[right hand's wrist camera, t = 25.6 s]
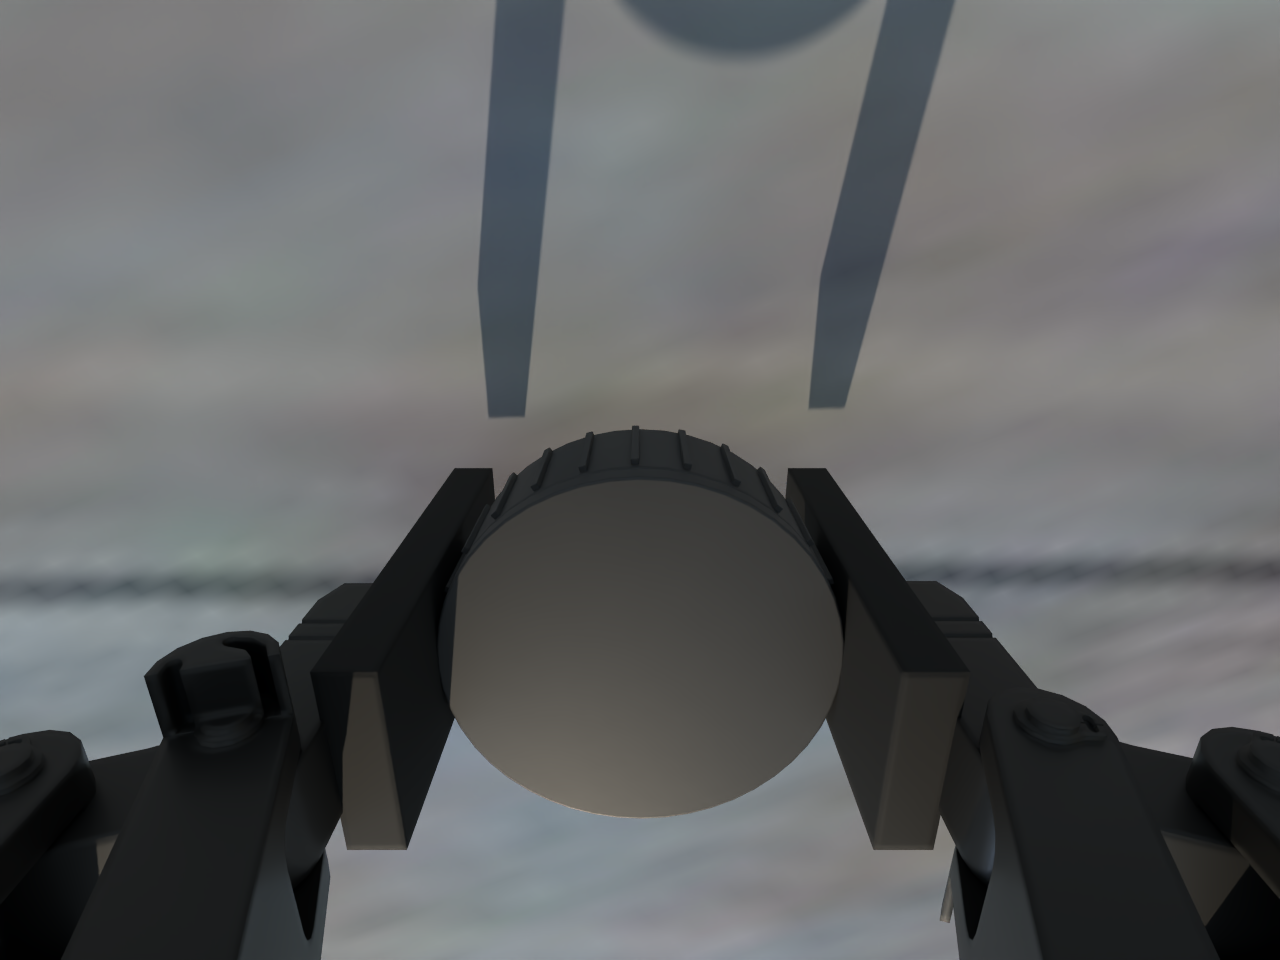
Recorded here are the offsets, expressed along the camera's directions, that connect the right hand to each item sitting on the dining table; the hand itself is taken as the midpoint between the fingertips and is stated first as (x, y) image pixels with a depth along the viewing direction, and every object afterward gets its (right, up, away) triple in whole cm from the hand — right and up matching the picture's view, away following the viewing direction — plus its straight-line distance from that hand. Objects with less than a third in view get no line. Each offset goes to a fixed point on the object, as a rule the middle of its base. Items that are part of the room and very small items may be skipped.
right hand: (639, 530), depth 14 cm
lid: (0, -2, -4) cm, 4 cm away
